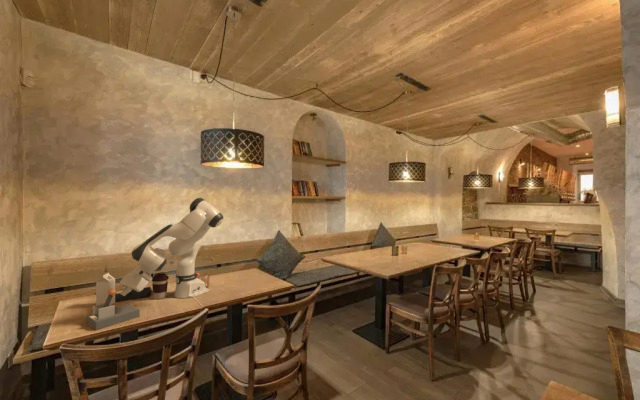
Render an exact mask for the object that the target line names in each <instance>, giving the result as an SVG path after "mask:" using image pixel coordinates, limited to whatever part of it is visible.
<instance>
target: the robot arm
mask: <svg viewBox="0 0 640 400" xmlns="http://www.w3.org/2000/svg"><path fill="white" fill-rule="evenodd" d="M223 220H224V215H223V214H222V213H221V212H220V211H219V210H218V209H217V208H216V207H215V206H213V205H212V204H211V203H209V202H208V201H206V199H204V198H202V197H197V198H195V199H193V200H192V201H191V203H190V205H189V213H188V214H186V215H185V216H184V217H183V218H182V219H181V220H180V221H179V222H177V223H175V224H167V225H166V226H164V227H163V228H162V229H160V230H158V231H156V232H155V233H154V234H152V236H150V237H149V238H147V239H145V241H143V242H141V243H140V244H138V245H136V246H134V248H133V249H132V251H131V258H132V259H133V260H135V261H136V262H139V264H137V266H135V268H134V269H133V270H132V271H131V272H129V273H127V274H126V275H124V277H122V278H121V280H120V281H119V284H120V285H121V286H123V289H122V290H121V292H119V293H120V294H121V295H123V296H125V295H126V294H127V293H129V292H131V290H135V291H137V292H140V291H142V290H143V289H144V288H146V287H147V285H148V284H149V282H152V277H153V276H152V274H153V272H159V271H161V270H162V269H163V268H164V266H165V265H167V257H166V256H167V254H166V252H165V251H164V250H163V249H161V248H159V247H156V248H153V247H152V246H153V245H154V244H156V243H157V242H158V241H159V240H161V239H163V238H165V237H171V238H175V239H173V240H172V241H171V242H170V243H169V244H168V252H169V254H170V255H172V256H180V258H179V259H178V261H177V262H176V274H175V288H174V289H175V290H174V293H173V297H174V298H177V299H184V298H196V297H198V296H200V295H203V294H205V293H208V292H210V289H209V288H208V287H206V283H205V282H204V281H203V280H202V279H200V278H198V277H200V275H201V273H198V272H195V271H196V270H195V266H196V265H195V262H196V258H197V255H198V253H199V250H200V249H201V248H202V245H203V242H202V239H203V238H204V236H205V235H206V234H207V232H208V231H209V230H210V229H211V228H217V227H218V226H220V225H221V224H222V222H223Z"/></svg>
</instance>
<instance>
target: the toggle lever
mask: <svg viewBox="0 0 640 400" xmlns="http://www.w3.org/2000/svg"><path fill="white" fill-rule="evenodd" d="M108 294H109V295H108V297H107V299H106V302H105V304H104V306H103V308H104V307H108V306H109V304H110V302H111V299H112V297H113V295H115V294H117V290H116V289H115V290H114V289H109V290H108Z"/></svg>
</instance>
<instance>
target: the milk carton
mask: <svg viewBox="0 0 640 400" xmlns="http://www.w3.org/2000/svg"><path fill="white" fill-rule="evenodd" d="M95 283H96V286H95V287H96V290H95V291H96V294H95V295H96V296H95V297H96V299H95V303H96V305H99V304H103V303H105V302H106V299H107V297H108V295H109V294H108V290H109V289H114V290H116V277H113V275H111V274H110V272H107V273H105V274H103V275H102V277H100V279H98V280H97V281H96V282H95ZM115 303H116V302H115V295H113V297H112V299H111V302H110V304H109V306H112V305H114V304H115Z"/></svg>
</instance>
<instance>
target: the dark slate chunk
mask: <svg viewBox="0 0 640 400" xmlns="http://www.w3.org/2000/svg"><path fill="white" fill-rule="evenodd" d="M120 293H121V292H119V293H117V292H116V294H115V303H121V302H129V301H136V300H141V299H148V298H151V297H152V293H153V289H152V288H151V286H145V287H144V289H143V290H142V291H140V292H137V291H135V290H131V291H130V292H129V293H127V294H126V295H125V296H123V295H121V294H120Z"/></svg>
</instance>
